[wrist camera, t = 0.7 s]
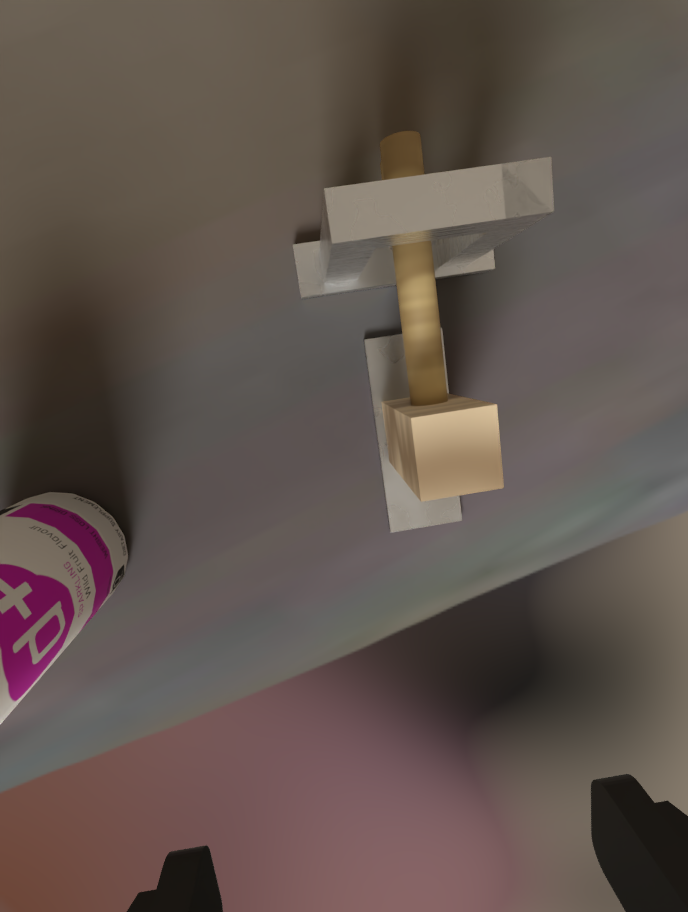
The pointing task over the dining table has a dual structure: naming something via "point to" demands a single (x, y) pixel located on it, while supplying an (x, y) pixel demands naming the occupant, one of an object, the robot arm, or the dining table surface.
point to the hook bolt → (432, 375)
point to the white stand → (454, 254)
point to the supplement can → (51, 582)
